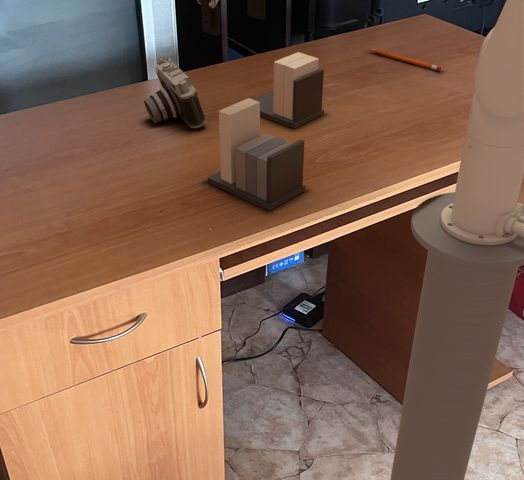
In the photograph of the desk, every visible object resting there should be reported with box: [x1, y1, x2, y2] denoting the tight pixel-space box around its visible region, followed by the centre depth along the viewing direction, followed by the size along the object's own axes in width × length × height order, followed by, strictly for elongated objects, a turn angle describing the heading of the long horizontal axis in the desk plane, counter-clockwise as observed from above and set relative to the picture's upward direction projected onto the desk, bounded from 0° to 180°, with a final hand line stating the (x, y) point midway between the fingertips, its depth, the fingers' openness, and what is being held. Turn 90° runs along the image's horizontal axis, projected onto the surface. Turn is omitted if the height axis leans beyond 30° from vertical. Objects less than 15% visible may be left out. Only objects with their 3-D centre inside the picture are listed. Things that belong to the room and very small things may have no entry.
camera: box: [143, 56, 207, 129], centre depth 150 cm, size 16×9×10 cm, turn 25°
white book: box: [218, 97, 261, 184], centre depth 129 cm, size 2×7×12 cm, turn 138°
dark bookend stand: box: [252, 51, 325, 130], centre depth 152 cm, size 14×9×11 cm, turn 48°
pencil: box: [368, 48, 442, 72], centre depth 176 cm, size 1×19×1 cm, turn 50°
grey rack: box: [207, 132, 306, 212], centre depth 129 cm, size 14×9×9 cm, turn 48°
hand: (234, 25), depth 118 cm, fingers open, 9 cm apart
